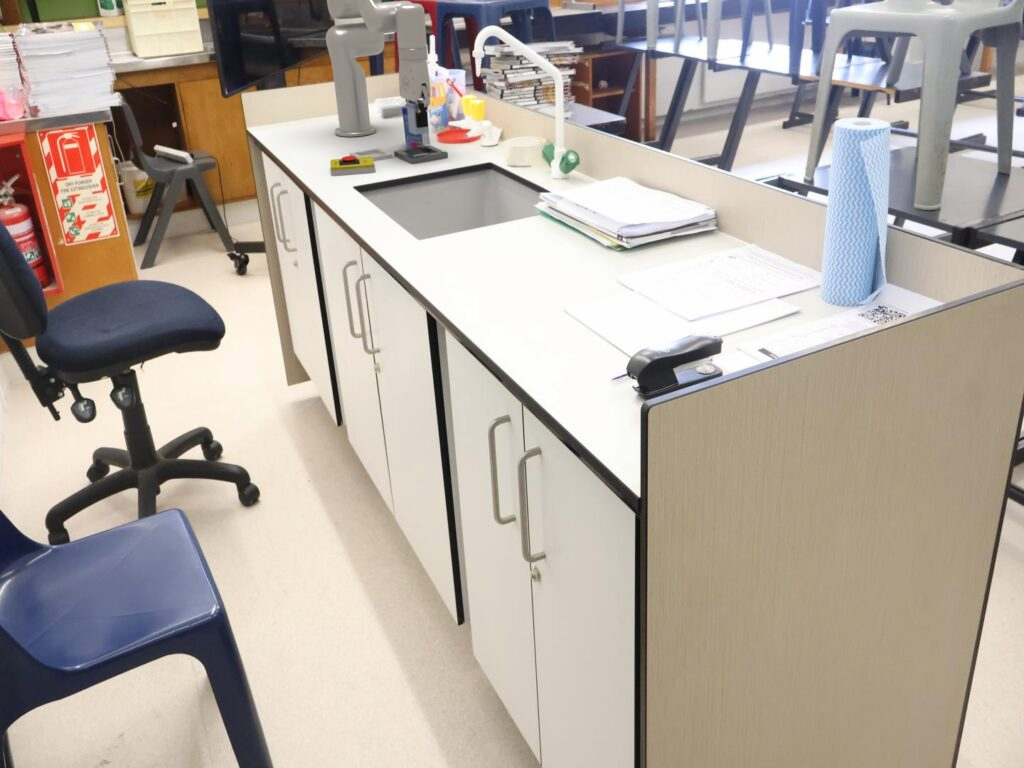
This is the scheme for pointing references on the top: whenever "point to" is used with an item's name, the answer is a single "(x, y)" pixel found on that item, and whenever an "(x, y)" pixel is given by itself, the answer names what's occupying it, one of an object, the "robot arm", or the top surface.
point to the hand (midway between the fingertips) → (418, 124)
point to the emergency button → (352, 166)
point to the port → (408, 155)
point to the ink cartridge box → (411, 138)
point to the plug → (414, 119)
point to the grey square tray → (373, 154)
